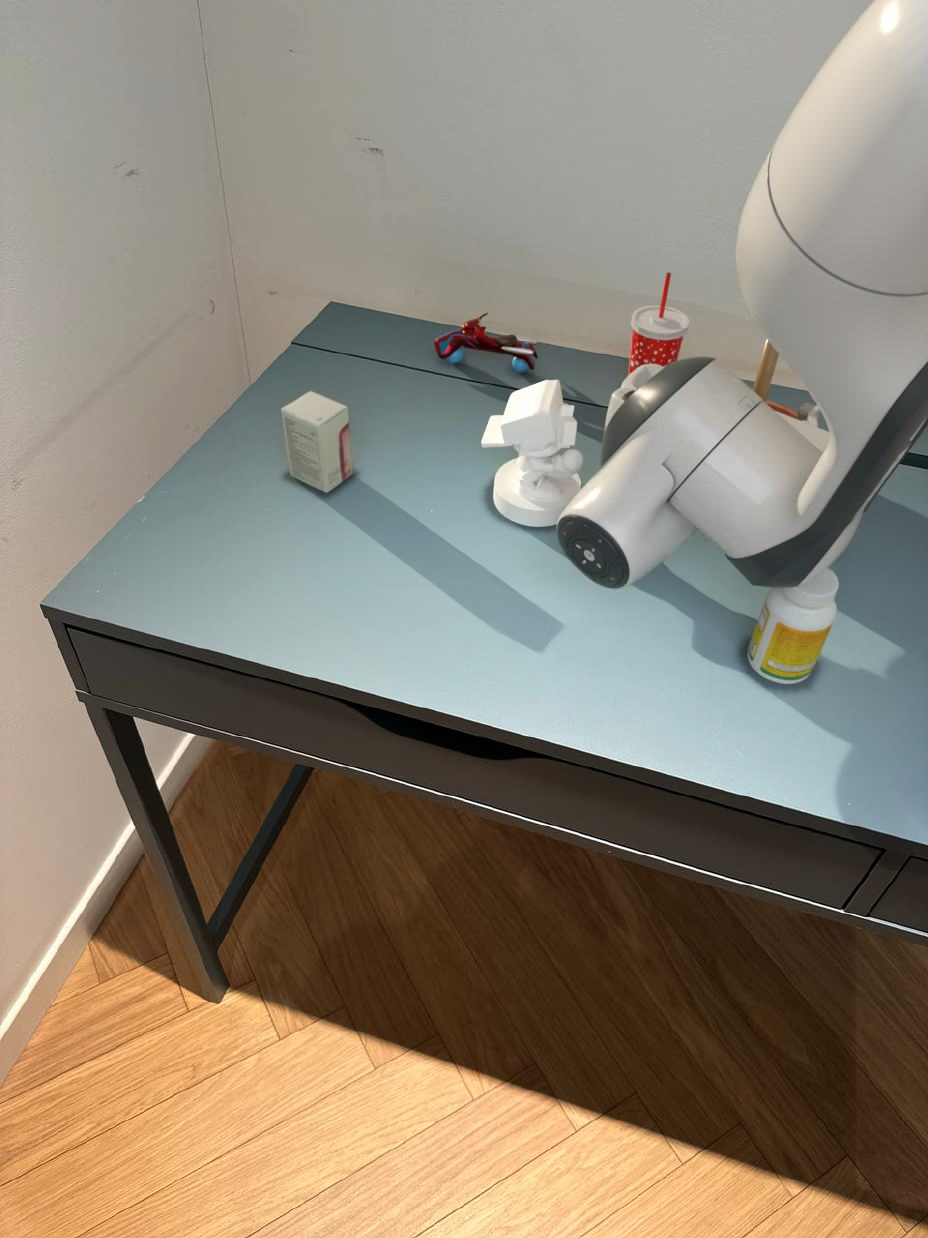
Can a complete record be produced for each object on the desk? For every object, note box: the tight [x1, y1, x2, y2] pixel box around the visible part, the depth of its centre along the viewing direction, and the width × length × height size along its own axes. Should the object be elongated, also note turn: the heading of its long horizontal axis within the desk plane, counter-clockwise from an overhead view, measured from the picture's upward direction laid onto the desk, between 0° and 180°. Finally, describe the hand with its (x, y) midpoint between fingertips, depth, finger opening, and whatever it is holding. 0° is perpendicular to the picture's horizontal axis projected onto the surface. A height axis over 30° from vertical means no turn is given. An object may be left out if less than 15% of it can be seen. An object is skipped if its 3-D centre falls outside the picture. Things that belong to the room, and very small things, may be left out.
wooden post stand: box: [752, 338, 780, 402], centre depth 89 cm, size 5×5×18 cm
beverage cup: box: [627, 272, 690, 377], centre depth 103 cm, size 6×6×14 cm
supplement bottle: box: [746, 567, 840, 685], centre depth 76 cm, size 5×5×10 cm
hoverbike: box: [433, 312, 539, 374], centre depth 109 cm, size 5×12×6 cm, turn 77°
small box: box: [280, 390, 354, 494], centre depth 93 cm, size 5×4×8 cm
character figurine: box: [480, 379, 584, 528], centre depth 90 cm, size 9×10×12 cm
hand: (764, 392), depth 89 cm, fingers open, 8 cm apart
